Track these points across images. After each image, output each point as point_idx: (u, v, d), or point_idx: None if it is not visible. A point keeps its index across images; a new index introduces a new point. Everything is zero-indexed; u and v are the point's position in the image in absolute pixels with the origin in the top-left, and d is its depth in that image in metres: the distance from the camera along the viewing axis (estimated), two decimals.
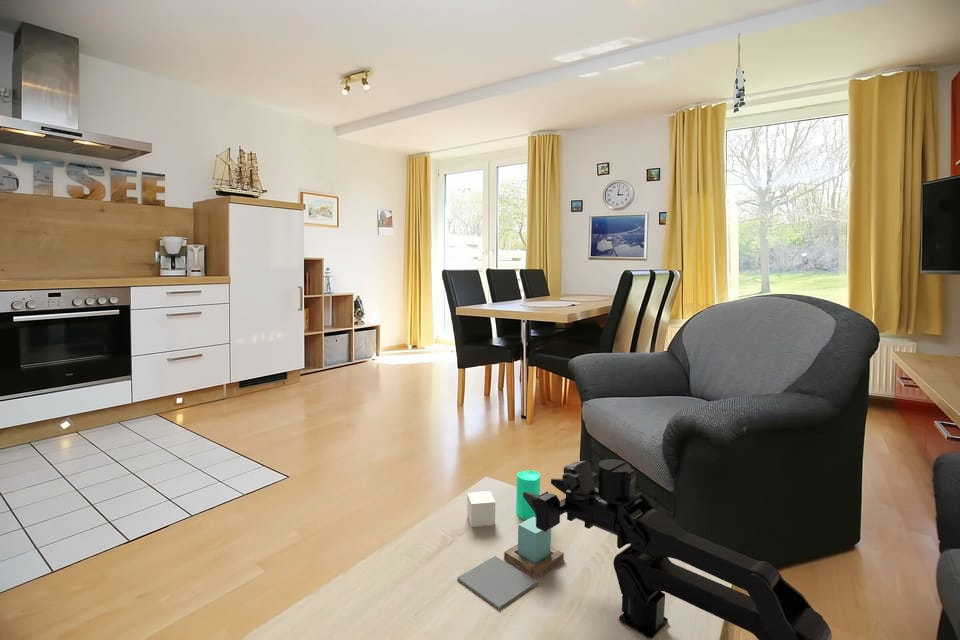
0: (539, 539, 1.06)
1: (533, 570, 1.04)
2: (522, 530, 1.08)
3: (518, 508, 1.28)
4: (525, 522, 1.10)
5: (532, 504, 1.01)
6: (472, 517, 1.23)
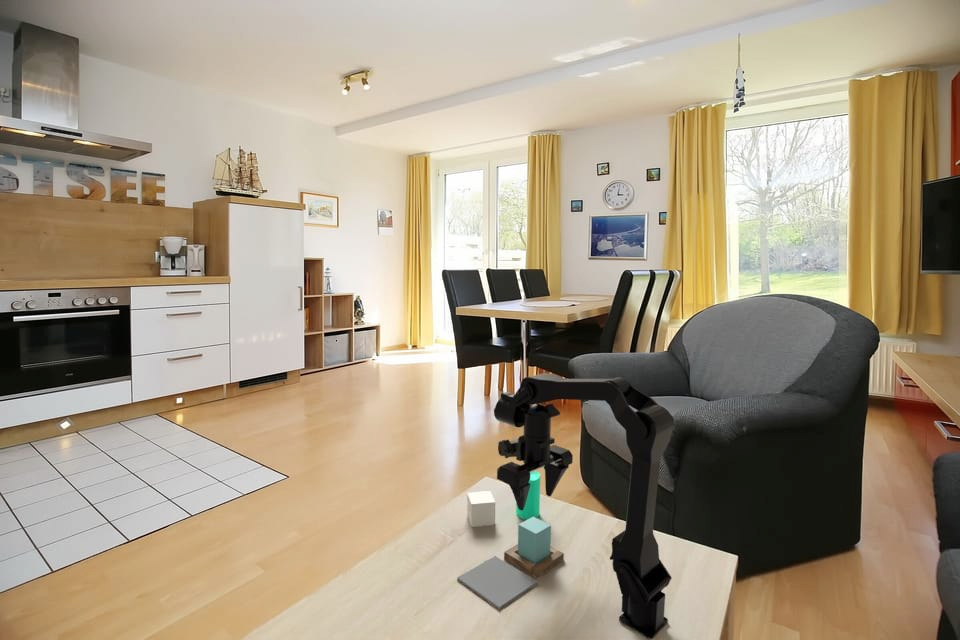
0: (539, 539, 1.06)
1: (533, 570, 1.04)
2: (522, 530, 1.08)
3: None
4: (525, 522, 1.10)
5: (519, 497, 1.03)
6: (472, 517, 1.23)
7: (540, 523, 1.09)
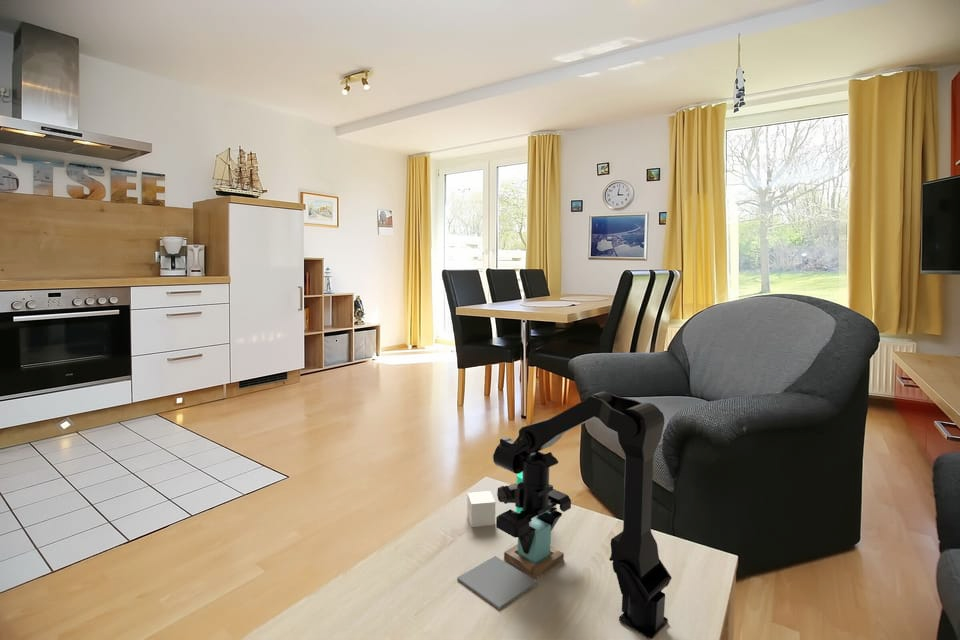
0: (539, 539, 1.06)
1: (533, 570, 1.04)
2: None
3: (518, 508, 1.28)
4: None
5: (525, 541, 1.06)
6: (472, 517, 1.23)
7: (540, 523, 1.09)
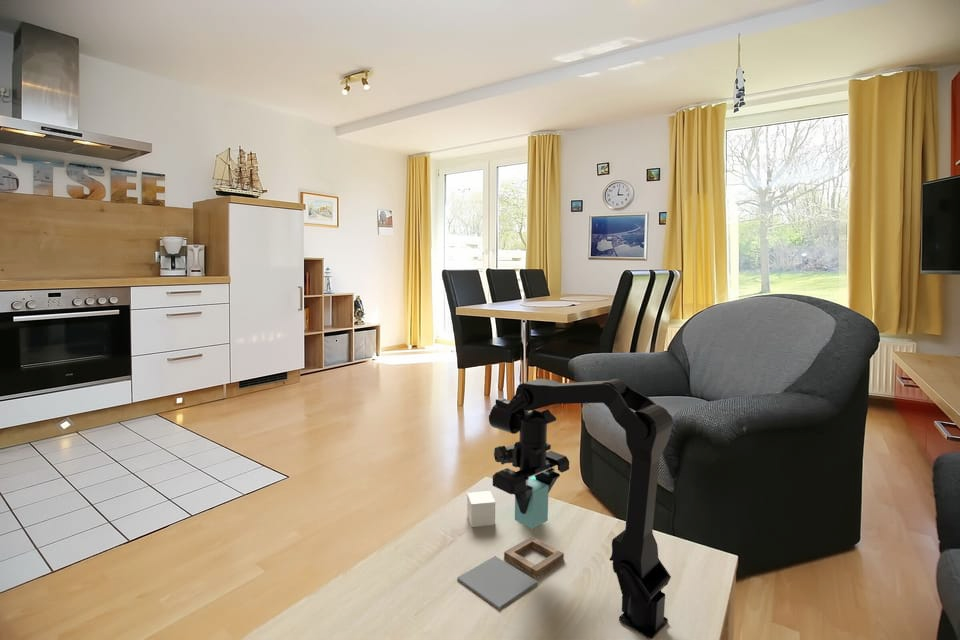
0: (536, 499, 1.04)
1: (533, 570, 1.04)
2: None
3: None
4: None
5: (522, 500, 1.04)
6: (472, 517, 1.23)
7: (537, 483, 1.07)
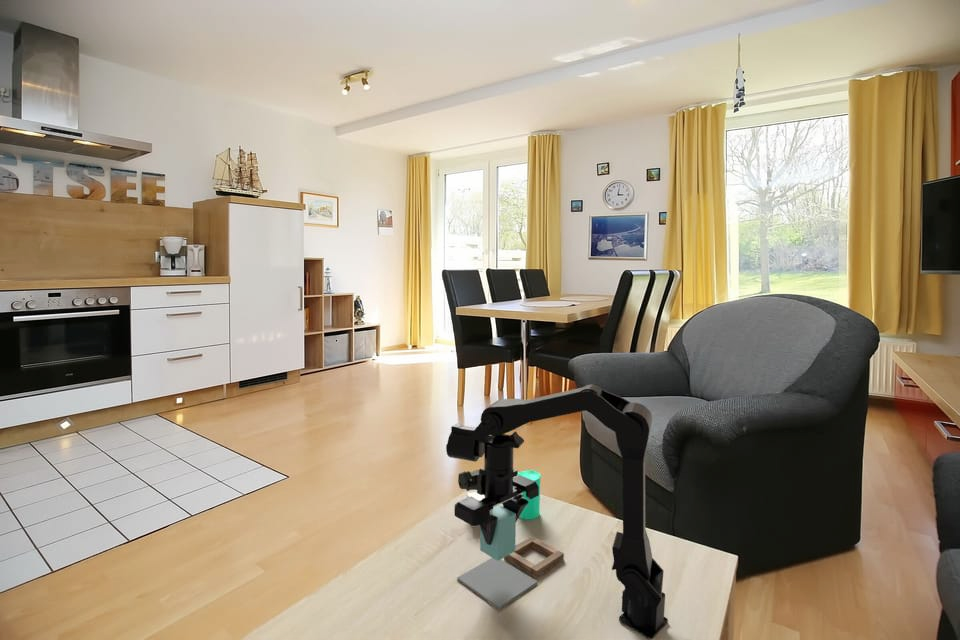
0: (502, 529, 0.98)
1: (533, 570, 1.04)
2: None
3: None
4: None
5: (486, 531, 0.97)
6: None
7: (504, 511, 1.01)
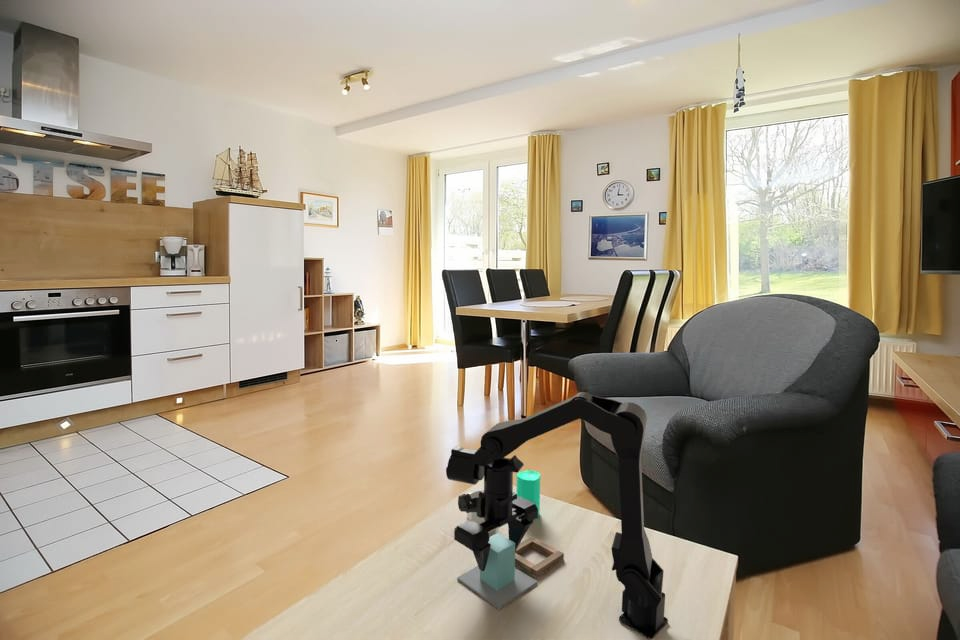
0: (501, 559, 0.98)
1: (533, 570, 1.04)
2: None
3: None
4: None
5: (480, 557, 0.97)
6: (472, 517, 1.22)
7: (504, 540, 1.01)
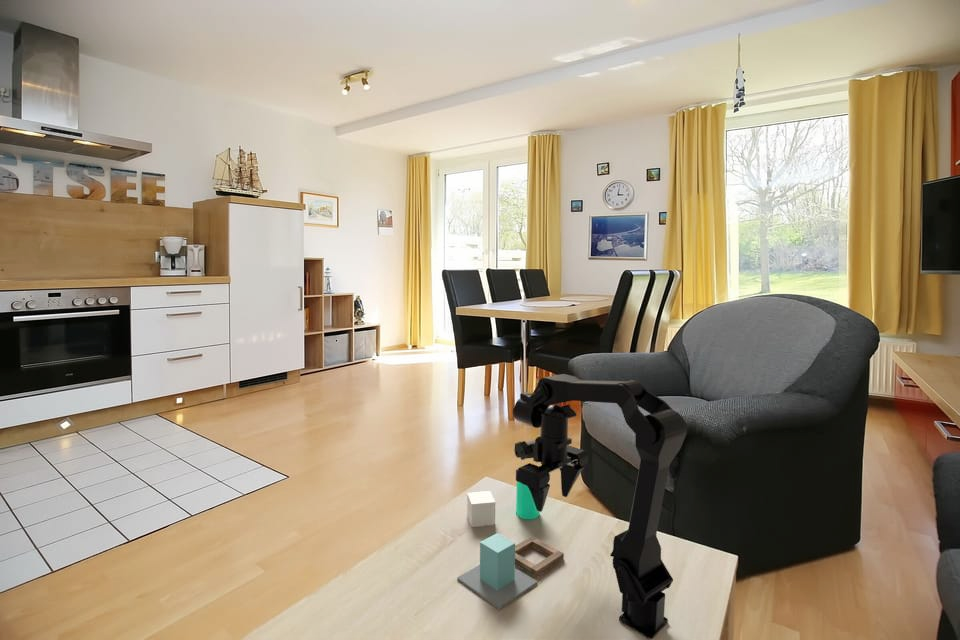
0: (501, 559, 0.98)
1: (533, 570, 1.04)
2: (483, 548, 1.00)
3: (518, 508, 1.28)
4: (488, 539, 1.02)
5: (538, 498, 1.03)
6: (472, 517, 1.22)
7: (504, 540, 1.01)
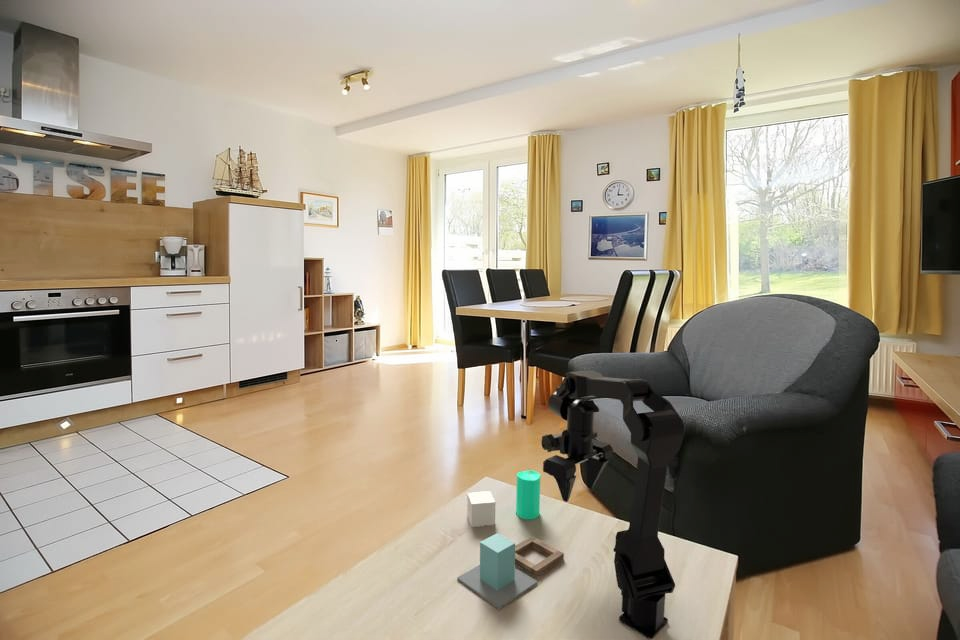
0: (501, 559, 0.98)
1: (533, 570, 1.04)
2: (483, 548, 1.00)
3: (518, 508, 1.28)
4: (488, 539, 1.02)
5: (565, 489, 1.07)
6: (472, 517, 1.22)
7: (504, 540, 1.01)
